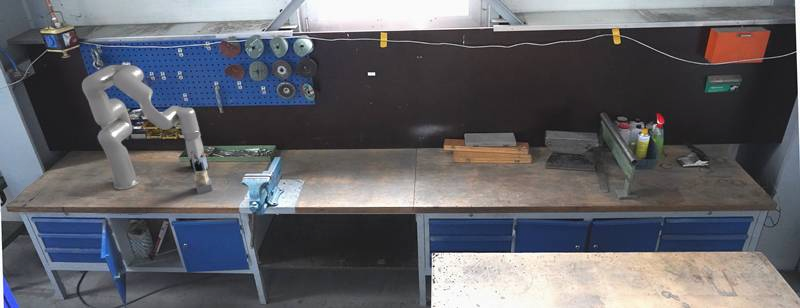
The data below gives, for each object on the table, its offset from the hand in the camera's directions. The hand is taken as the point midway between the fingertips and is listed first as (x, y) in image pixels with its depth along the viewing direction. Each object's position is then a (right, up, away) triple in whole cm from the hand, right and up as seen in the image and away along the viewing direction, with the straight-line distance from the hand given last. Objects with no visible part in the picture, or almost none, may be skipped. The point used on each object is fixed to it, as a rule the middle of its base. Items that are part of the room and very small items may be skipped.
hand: (200, 167), depth 263 cm
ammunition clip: (-9, -1, +25) cm, 26 cm away
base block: (0, -11, +6) cm, 12 cm away
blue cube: (0, -1, 0) cm, 1 cm away
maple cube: (0, -7, +4) cm, 8 cm away
